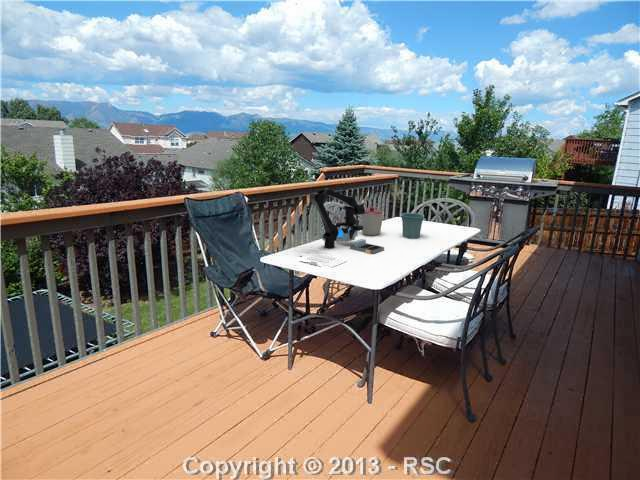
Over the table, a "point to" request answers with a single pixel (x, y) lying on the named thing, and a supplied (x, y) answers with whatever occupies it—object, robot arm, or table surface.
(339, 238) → the book
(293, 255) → the table surface
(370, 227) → the grey plant pot
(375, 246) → the rack
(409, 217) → the flower pot
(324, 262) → the tray
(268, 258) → the table surface
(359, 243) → the fitted panel
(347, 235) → the panel
